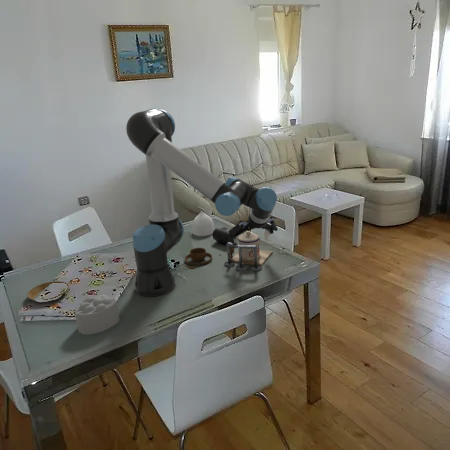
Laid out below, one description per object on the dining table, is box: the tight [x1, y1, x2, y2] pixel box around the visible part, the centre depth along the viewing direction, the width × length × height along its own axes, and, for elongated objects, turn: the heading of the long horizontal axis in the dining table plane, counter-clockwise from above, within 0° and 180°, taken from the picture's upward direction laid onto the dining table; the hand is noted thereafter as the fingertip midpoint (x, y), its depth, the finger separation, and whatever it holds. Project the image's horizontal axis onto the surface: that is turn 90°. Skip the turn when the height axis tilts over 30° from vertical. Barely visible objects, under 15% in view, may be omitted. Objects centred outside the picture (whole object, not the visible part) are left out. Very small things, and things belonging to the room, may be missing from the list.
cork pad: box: [231, 249, 273, 267], centre depth 180 cm, size 14×14×1 cm
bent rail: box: [223, 242, 263, 272], centre depth 169 cm, size 6×16×10 cm, turn 64°
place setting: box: [182, 246, 235, 269], centre depth 178 cm, size 18×20×6 cm
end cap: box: [212, 226, 235, 245], centre depth 196 cm, size 10×7×7 cm
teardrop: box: [192, 210, 215, 237], centre depth 211 cm, size 11×11×12 cm
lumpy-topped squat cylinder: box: [74, 294, 120, 335], centre depth 137 cm, size 10×13×9 cm
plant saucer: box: [26, 280, 70, 302], centre depth 159 cm, size 15×15×3 cm
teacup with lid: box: [237, 230, 261, 261], centre depth 178 cm, size 12×9×12 cm
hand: (250, 238), depth 177 cm, fingers open, 13 cm apart
